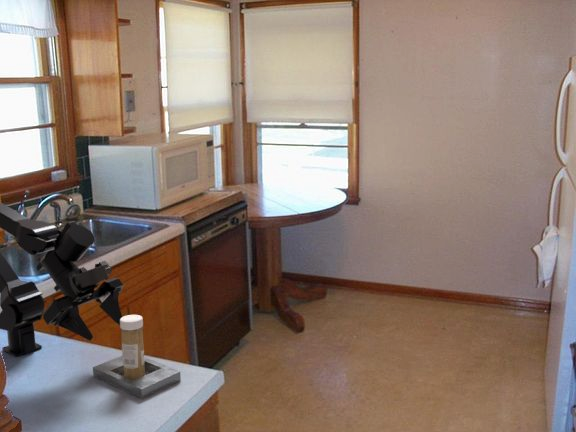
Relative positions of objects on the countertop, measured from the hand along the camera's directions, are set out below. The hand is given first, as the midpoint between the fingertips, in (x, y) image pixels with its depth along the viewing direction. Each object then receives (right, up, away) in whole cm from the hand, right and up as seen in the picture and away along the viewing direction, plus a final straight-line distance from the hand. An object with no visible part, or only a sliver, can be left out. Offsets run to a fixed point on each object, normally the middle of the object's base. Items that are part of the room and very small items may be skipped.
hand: (107, 331), depth 128 cm
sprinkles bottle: (+6, -10, -2) cm, 12 cm away
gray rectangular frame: (+7, -9, -1) cm, 12 cm away
